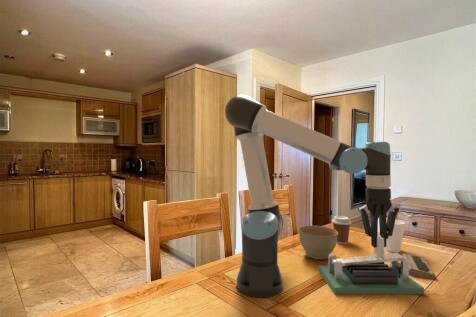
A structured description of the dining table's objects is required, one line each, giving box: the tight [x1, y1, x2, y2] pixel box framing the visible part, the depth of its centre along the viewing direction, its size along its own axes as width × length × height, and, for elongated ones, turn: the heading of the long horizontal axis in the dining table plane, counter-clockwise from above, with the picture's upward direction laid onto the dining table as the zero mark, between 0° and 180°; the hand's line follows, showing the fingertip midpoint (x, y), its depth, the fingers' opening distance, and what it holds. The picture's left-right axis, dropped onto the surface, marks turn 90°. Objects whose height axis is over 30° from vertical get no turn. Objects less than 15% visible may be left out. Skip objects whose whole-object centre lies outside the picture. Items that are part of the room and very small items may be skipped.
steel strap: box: [331, 252, 404, 266], centre depth 92 cm, size 23×4×2 cm, turn 90°
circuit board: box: [318, 265, 425, 295], centre depth 92 cm, size 28×16×2 cm, turn 90°
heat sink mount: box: [327, 253, 410, 285], centre depth 92 cm, size 24×12×8 cm, turn 90°
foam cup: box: [384, 218, 406, 253], centre depth 122 cm, size 10×9×13 cm
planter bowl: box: [298, 225, 338, 260], centre depth 115 cm, size 16×16×11 cm
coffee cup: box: [331, 215, 352, 245], centre depth 133 cm, size 9×9×12 cm
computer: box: [401, 253, 436, 280], centre depth 103 cm, size 16×8×3 cm, turn 156°
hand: (378, 256), depth 92 cm, fingers closed
